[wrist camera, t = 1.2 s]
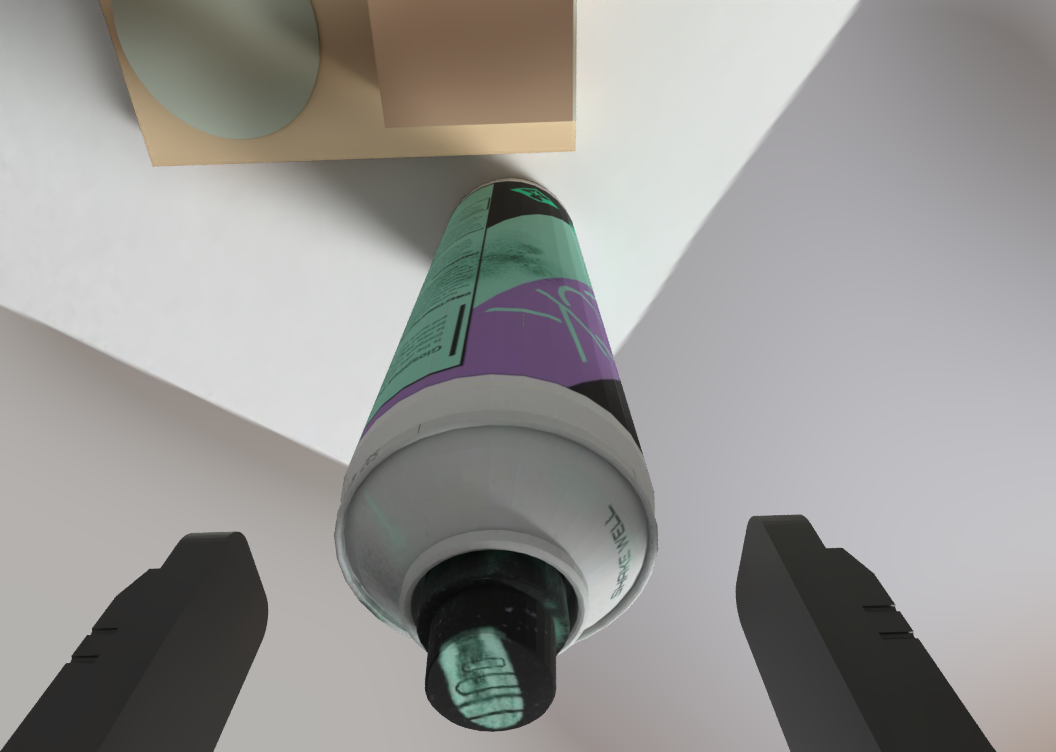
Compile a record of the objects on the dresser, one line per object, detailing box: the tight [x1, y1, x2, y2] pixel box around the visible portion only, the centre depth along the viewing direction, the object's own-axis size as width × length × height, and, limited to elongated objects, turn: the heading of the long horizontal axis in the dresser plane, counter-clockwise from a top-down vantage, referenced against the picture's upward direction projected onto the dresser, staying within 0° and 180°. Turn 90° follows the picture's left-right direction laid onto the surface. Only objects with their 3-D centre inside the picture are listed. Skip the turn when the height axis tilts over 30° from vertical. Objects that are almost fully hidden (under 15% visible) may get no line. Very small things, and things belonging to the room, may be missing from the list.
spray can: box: [334, 178, 658, 732], centre depth 16 cm, size 6×6×20 cm
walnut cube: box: [367, 0, 573, 128], centre depth 17 cm, size 5×5×5 cm
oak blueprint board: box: [99, 0, 577, 166], centre depth 20 cm, size 8×15×3 cm, turn 92°
